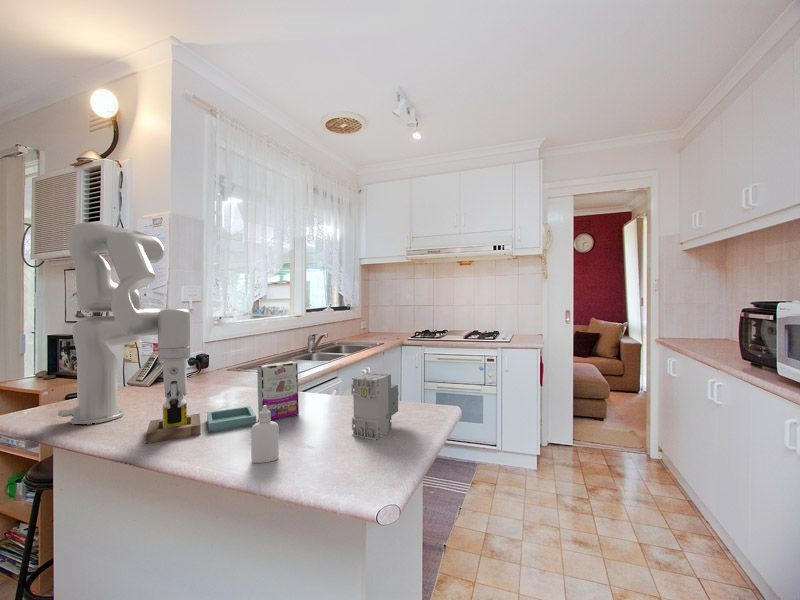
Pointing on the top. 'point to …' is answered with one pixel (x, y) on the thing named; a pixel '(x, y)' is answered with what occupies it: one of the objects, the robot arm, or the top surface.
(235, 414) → the tray
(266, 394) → the candy bar box
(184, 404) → the supplement bottle
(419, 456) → the top surface
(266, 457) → the eye dropper bottle
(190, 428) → the brown rectangular holder box
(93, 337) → the robot arm
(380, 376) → the circuit breaker
